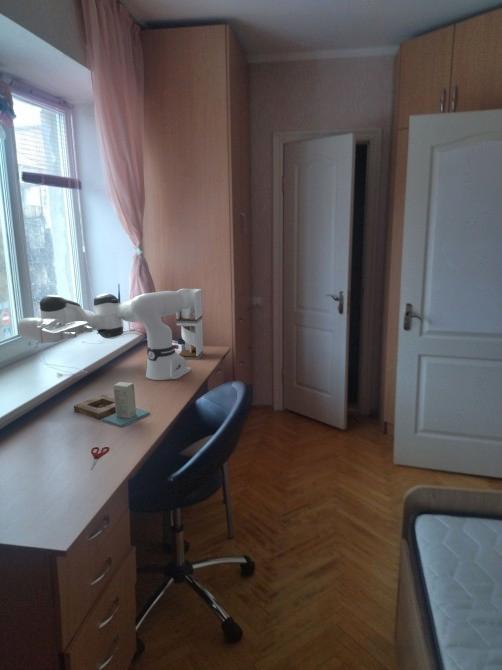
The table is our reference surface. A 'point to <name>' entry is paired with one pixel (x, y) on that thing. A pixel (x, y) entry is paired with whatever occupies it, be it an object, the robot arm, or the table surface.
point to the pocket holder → (89, 406)
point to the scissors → (96, 455)
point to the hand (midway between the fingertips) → (83, 332)
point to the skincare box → (124, 399)
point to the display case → (191, 323)
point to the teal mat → (124, 421)
